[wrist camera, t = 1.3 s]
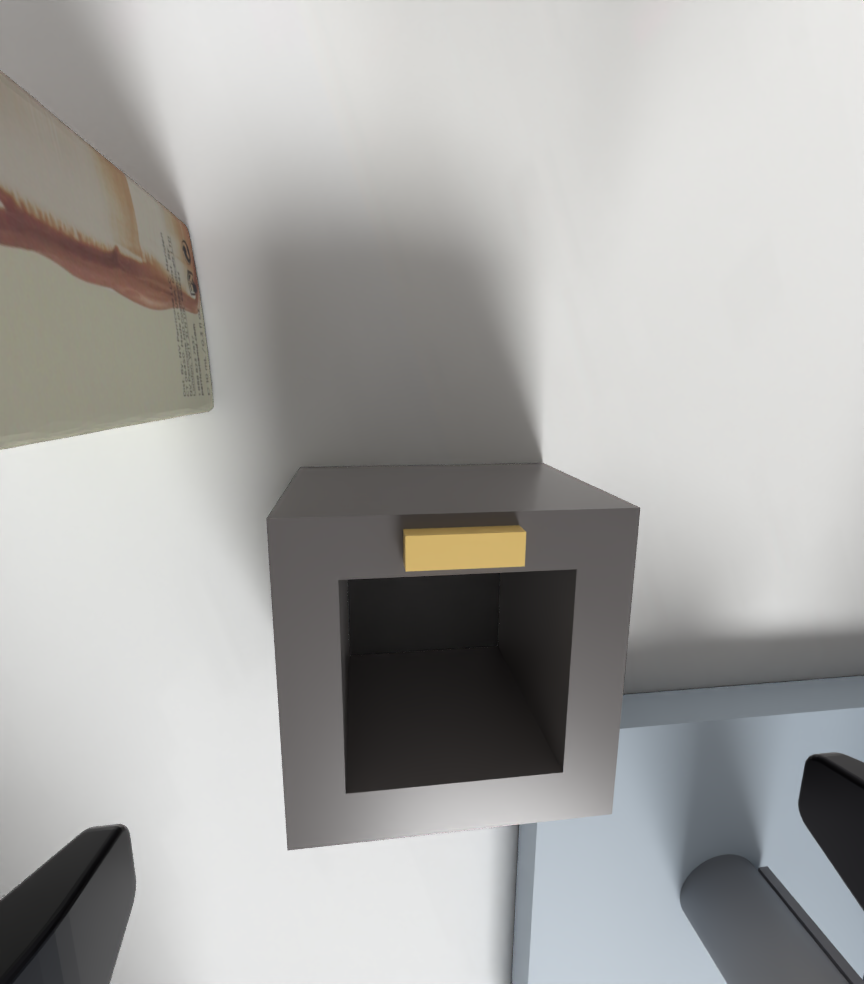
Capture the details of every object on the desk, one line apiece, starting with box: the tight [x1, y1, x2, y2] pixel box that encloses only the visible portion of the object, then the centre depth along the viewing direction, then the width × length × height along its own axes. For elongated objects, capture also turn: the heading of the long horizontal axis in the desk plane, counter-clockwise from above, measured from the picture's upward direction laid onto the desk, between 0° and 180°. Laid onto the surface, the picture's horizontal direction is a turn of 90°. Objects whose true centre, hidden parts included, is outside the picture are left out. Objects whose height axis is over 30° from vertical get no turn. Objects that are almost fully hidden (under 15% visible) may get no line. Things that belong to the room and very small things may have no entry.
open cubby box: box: [267, 463, 640, 850], centre depth 12 cm, size 6×6×5 cm
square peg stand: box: [512, 676, 864, 984], centre depth 14 cm, size 12×12×8 cm
